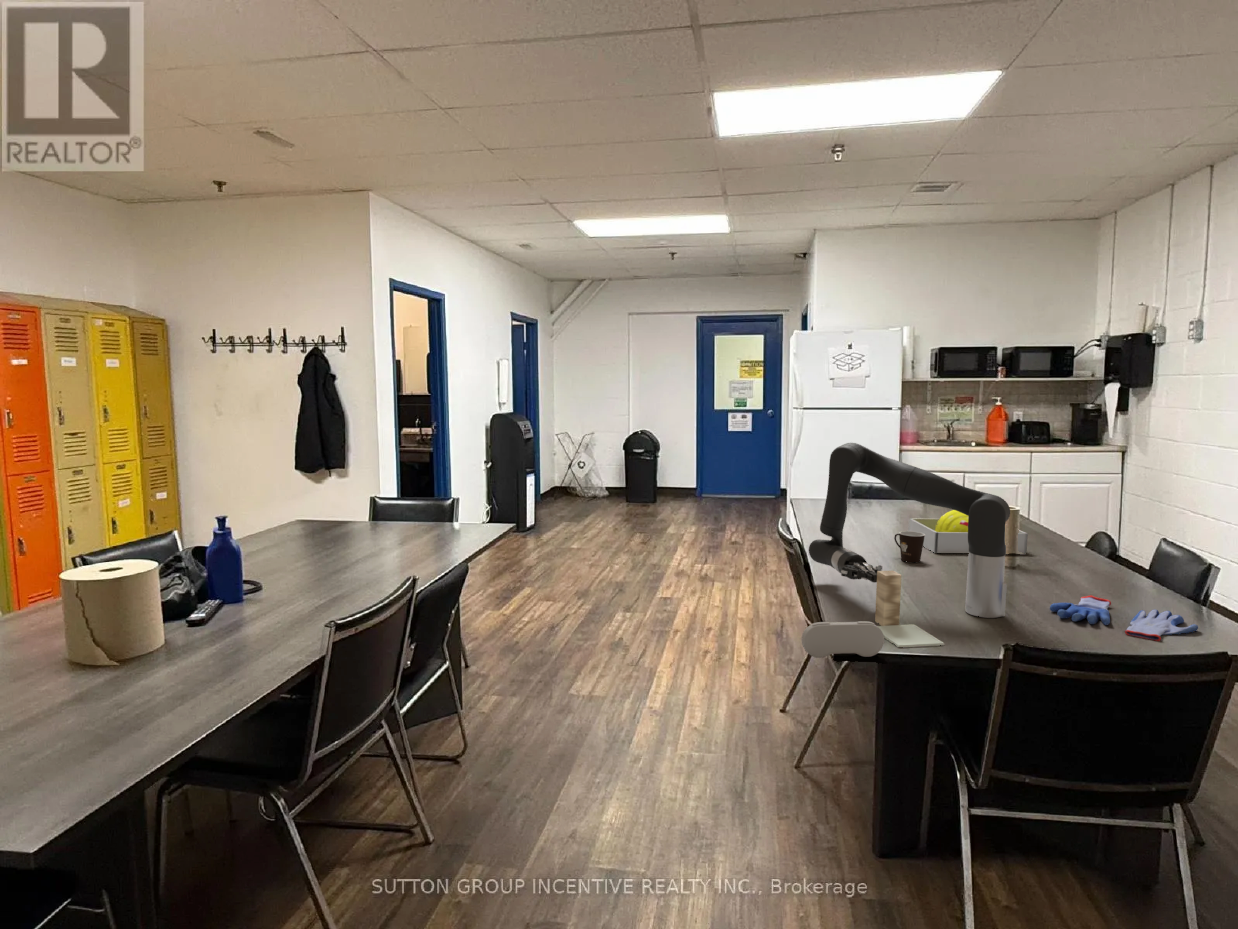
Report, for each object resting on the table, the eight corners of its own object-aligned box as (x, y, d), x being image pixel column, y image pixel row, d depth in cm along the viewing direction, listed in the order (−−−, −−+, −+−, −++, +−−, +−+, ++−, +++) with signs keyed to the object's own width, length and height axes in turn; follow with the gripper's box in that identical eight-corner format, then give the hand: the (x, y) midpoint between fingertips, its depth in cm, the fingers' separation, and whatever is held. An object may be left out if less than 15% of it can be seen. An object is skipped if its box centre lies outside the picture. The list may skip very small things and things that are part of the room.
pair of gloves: (1204, 626, 199) (1205, 613, 198) (1183, 650, 181) (1184, 635, 181) (1070, 600, 222) (1071, 588, 222) (1041, 619, 205) (1042, 606, 204)
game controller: (880, 653, 178) (881, 620, 177) (883, 656, 176) (885, 623, 175) (800, 655, 177) (801, 621, 176) (803, 658, 174) (804, 624, 174)
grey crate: (991, 538, 304) (992, 519, 303) (1026, 554, 277) (1027, 533, 276) (907, 537, 306) (908, 518, 305) (934, 553, 278) (935, 532, 277)
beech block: (890, 620, 201) (892, 570, 200) (899, 626, 197) (901, 575, 195) (875, 621, 201) (877, 571, 199) (883, 627, 196) (885, 575, 195)
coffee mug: (927, 564, 262) (928, 536, 261) (902, 563, 263) (904, 536, 261) (914, 556, 274) (916, 529, 273) (891, 555, 274) (892, 529, 273)
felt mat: (871, 628, 195) (871, 626, 195) (913, 626, 197) (913, 624, 196) (898, 647, 181) (898, 645, 181) (943, 645, 183) (943, 643, 183)
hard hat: (918, 539, 302) (920, 503, 301) (987, 542, 297) (989, 506, 295) (927, 550, 283) (929, 512, 281) (1001, 554, 277) (1003, 515, 275)
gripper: (828, 551, 220) (854, 566, 203) (870, 550, 222) (899, 564, 205) (827, 576, 221) (853, 593, 204) (869, 574, 222) (898, 591, 205)
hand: (876, 579), depth 204 cm, fingers closed
